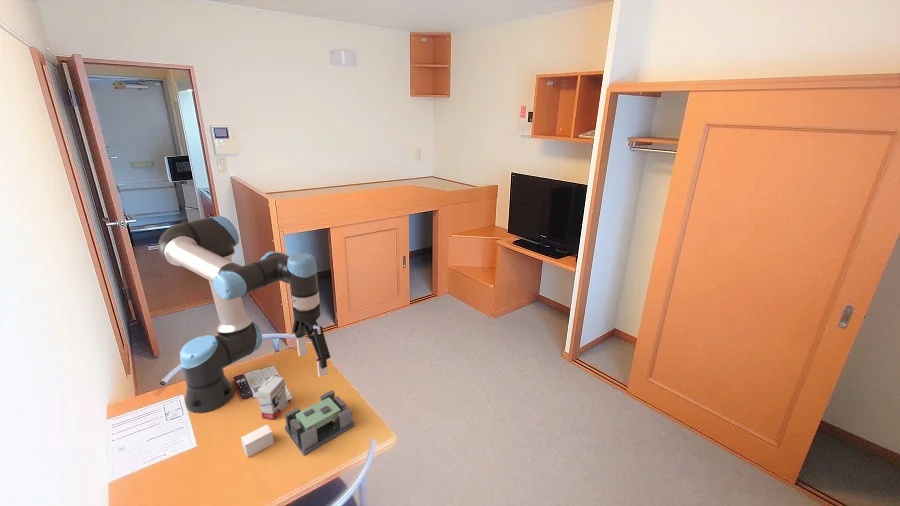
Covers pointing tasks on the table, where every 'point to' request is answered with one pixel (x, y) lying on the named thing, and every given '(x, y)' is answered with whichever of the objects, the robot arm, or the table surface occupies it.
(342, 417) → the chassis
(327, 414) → the board
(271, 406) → the ink box
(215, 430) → the table surface
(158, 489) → the table surface
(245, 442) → the riser
